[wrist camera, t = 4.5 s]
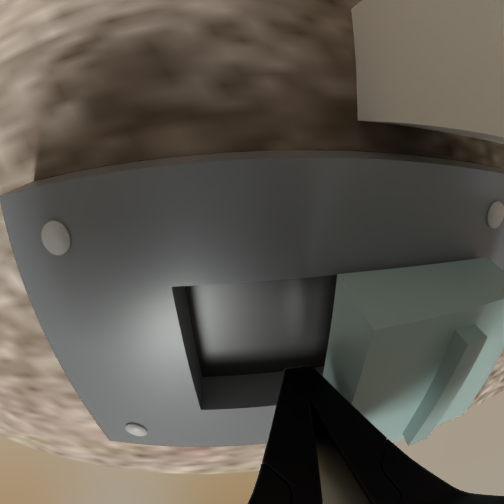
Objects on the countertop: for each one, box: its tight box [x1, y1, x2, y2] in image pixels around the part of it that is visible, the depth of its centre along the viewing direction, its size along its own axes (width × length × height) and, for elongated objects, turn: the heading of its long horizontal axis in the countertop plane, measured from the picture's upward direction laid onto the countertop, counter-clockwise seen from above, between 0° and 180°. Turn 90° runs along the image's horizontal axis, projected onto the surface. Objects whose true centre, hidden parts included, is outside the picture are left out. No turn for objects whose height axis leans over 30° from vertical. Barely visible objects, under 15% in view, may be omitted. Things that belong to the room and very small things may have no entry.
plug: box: [351, 0, 504, 144], centre depth 5 cm, size 4×4×6 cm
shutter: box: [323, 257, 504, 446], centre depth 8 cm, size 6×6×3 cm
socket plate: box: [0, 150, 504, 447], centre depth 10 cm, size 18×12×2 cm, turn 92°
